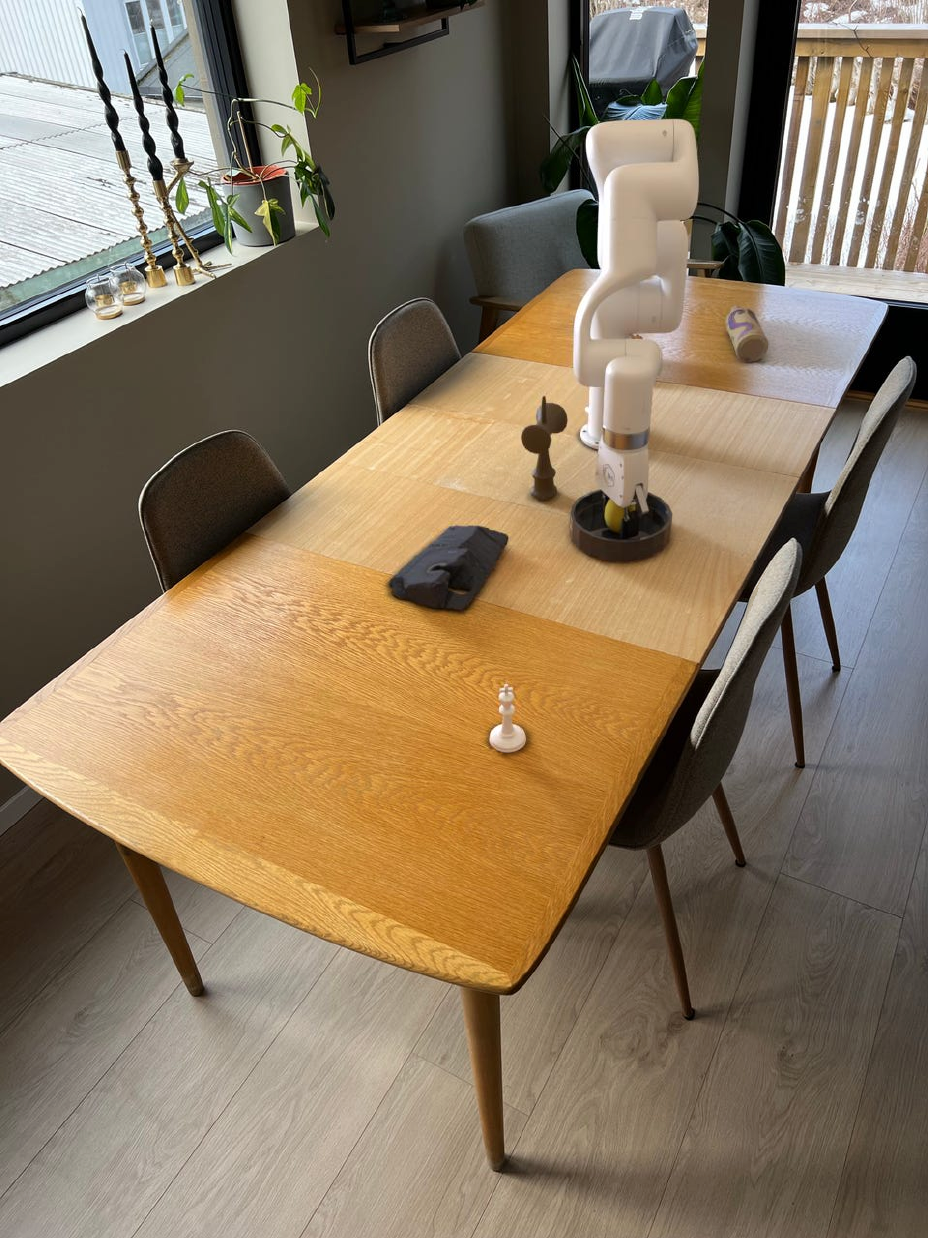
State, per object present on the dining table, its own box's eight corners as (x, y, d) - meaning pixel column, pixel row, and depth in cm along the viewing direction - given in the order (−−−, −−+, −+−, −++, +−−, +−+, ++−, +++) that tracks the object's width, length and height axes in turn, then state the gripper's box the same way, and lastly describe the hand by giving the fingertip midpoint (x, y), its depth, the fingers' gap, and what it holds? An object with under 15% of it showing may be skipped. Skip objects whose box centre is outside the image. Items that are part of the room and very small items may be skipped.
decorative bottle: (767, 362, 221) (772, 334, 217) (734, 363, 222) (737, 335, 218) (749, 319, 241) (753, 292, 237) (718, 319, 242) (721, 293, 238)
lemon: (634, 543, 167) (637, 503, 162) (602, 540, 168) (604, 501, 163) (636, 525, 171) (639, 486, 166) (605, 523, 172) (607, 484, 167)
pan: (553, 522, 174) (553, 501, 171) (637, 500, 178) (639, 478, 175) (599, 573, 161) (600, 551, 158) (689, 547, 165) (691, 525, 163)
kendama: (567, 484, 184) (569, 386, 171) (550, 510, 177) (551, 410, 164) (537, 479, 186) (537, 382, 173) (519, 505, 179) (518, 405, 166)
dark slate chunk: (524, 548, 168) (524, 524, 165) (460, 619, 153) (459, 595, 150) (448, 526, 174) (446, 504, 171) (380, 593, 160) (377, 569, 157)
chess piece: (487, 728, 134) (485, 674, 128) (523, 725, 134) (522, 670, 128) (491, 754, 130) (489, 699, 124) (528, 750, 130) (527, 696, 124)
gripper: (580, 417, 163) (578, 509, 174) (632, 462, 150) (625, 558, 161) (620, 407, 165) (615, 499, 176) (674, 451, 152) (665, 547, 163)
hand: (620, 526), depth 168 cm, fingers closed on lemon, 5 cm apart
